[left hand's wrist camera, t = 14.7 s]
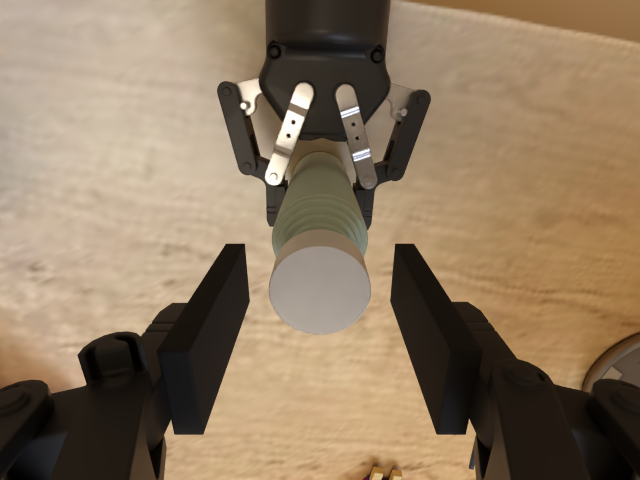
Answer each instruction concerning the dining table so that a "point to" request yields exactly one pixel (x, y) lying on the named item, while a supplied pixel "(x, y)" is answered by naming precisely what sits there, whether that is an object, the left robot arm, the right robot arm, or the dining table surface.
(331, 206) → the bottle
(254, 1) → the dining table surface
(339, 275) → the cap
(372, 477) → the toy figure
